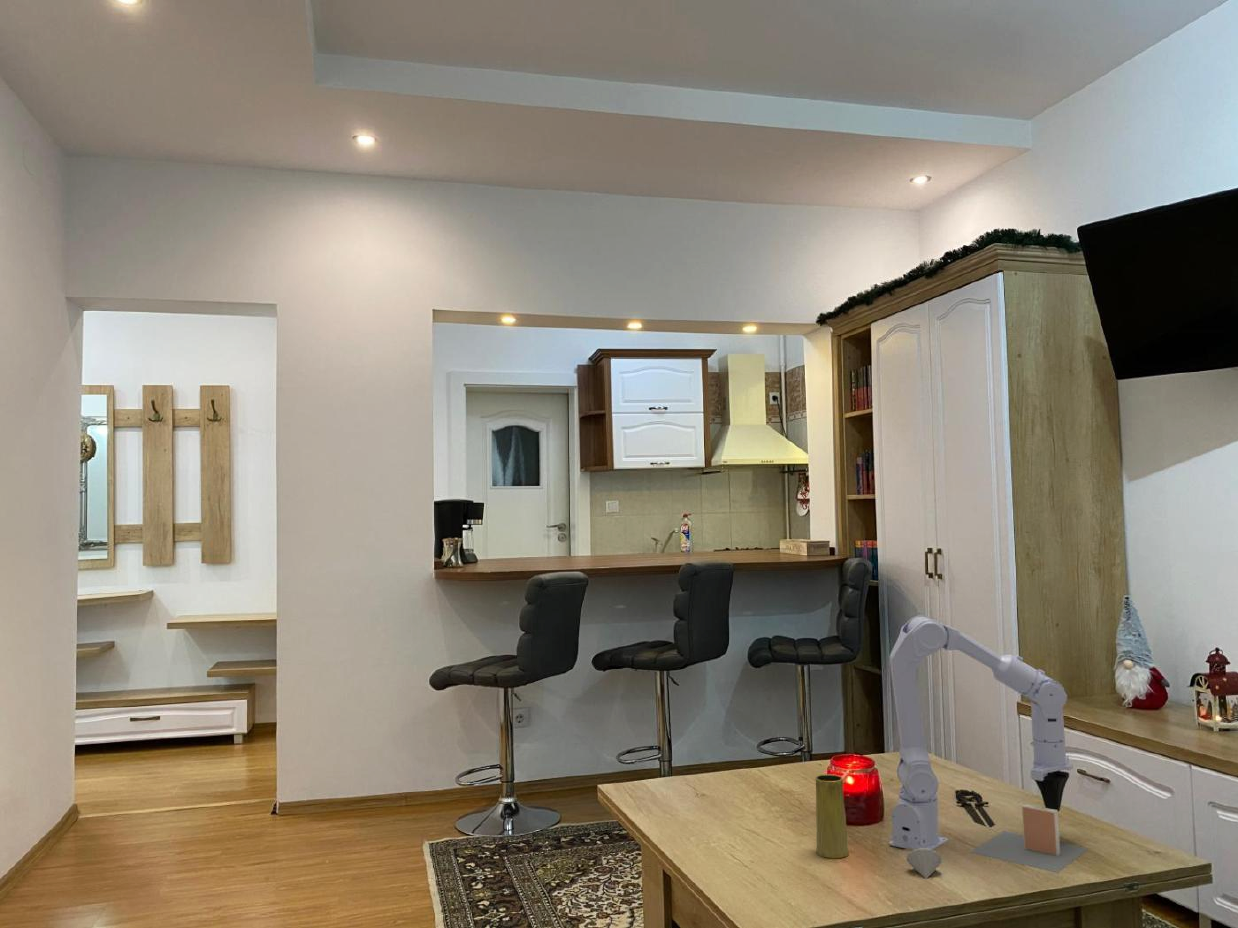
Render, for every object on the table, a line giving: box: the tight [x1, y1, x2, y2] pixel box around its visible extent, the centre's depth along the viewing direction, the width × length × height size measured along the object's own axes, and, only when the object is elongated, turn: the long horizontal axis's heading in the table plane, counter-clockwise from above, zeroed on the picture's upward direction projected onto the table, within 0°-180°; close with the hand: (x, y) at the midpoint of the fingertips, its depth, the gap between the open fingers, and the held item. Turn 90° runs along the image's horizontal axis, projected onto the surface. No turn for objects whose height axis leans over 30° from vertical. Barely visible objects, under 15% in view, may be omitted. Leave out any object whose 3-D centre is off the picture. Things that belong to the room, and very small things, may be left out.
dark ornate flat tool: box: [954, 789, 996, 829], centre depth 199 cm, size 26×7×2 cm, turn 165°
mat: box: [969, 830, 1089, 874], centre depth 173 cm, size 16×16×1 cm
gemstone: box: [906, 848, 943, 880], centre depth 164 cm, size 6×6×5 cm
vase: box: [815, 773, 850, 859], centre depth 176 cm, size 6×6×14 cm
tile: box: [1021, 804, 1061, 856], centre depth 173 cm, size 2×6×8 cm, turn 45°
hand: (1052, 810), depth 178 cm, fingers closed
